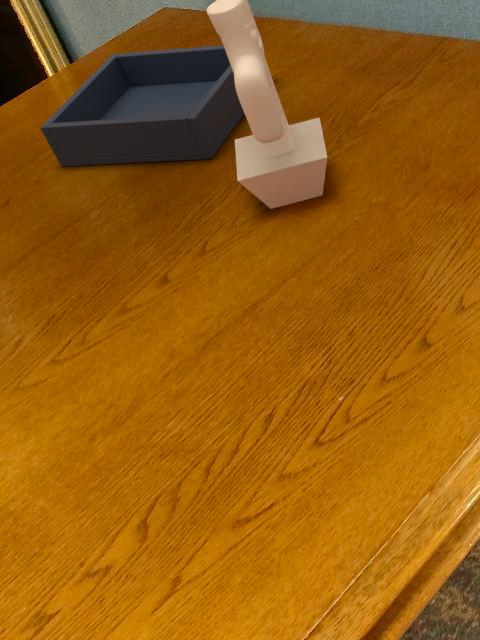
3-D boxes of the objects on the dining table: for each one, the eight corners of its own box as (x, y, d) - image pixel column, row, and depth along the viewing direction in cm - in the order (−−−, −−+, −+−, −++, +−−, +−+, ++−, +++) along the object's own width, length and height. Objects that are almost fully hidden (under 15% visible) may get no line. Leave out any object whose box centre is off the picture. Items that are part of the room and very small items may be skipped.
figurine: (255, 229, 80) (176, 37, 69) (250, 174, 86) (177, -10, 75) (342, 205, 80) (278, 11, 69) (331, 152, 87) (270, -34, 75)
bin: (61, 166, 93) (39, 127, 90) (129, 91, 102) (112, 53, 99) (211, 159, 89) (194, 118, 86) (268, 81, 98) (255, 42, 96)
